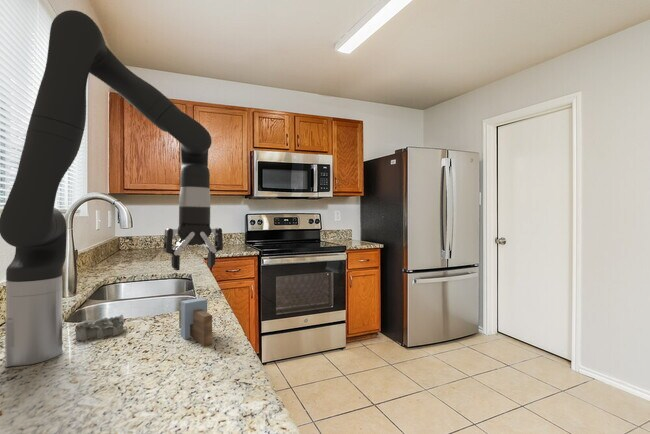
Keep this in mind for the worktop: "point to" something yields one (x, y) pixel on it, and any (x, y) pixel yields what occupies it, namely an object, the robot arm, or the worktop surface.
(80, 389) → the worktop surface
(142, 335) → the worktop surface
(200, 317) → the slotted plate
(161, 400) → the worktop surface
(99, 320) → the egg carton
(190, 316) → the notched block
